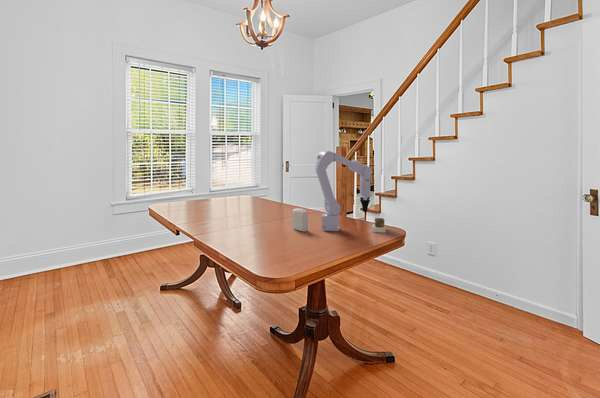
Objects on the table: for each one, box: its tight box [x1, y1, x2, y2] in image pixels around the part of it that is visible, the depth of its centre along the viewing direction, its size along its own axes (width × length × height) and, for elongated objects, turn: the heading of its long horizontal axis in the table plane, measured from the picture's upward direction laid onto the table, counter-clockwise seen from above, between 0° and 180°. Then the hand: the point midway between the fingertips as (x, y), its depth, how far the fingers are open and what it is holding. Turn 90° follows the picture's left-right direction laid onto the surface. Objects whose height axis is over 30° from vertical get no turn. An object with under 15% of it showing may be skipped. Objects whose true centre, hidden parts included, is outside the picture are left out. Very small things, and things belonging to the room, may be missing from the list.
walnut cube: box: [374, 217, 385, 227], centre depth 178 cm, size 4×4×4 cm
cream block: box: [371, 223, 387, 233], centre depth 179 cm, size 7×7×3 cm
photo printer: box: [291, 207, 309, 233], centre depth 183 cm, size 10×4×12 cm, turn 40°
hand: (364, 210), depth 188 cm, fingers open, 7 cm apart
